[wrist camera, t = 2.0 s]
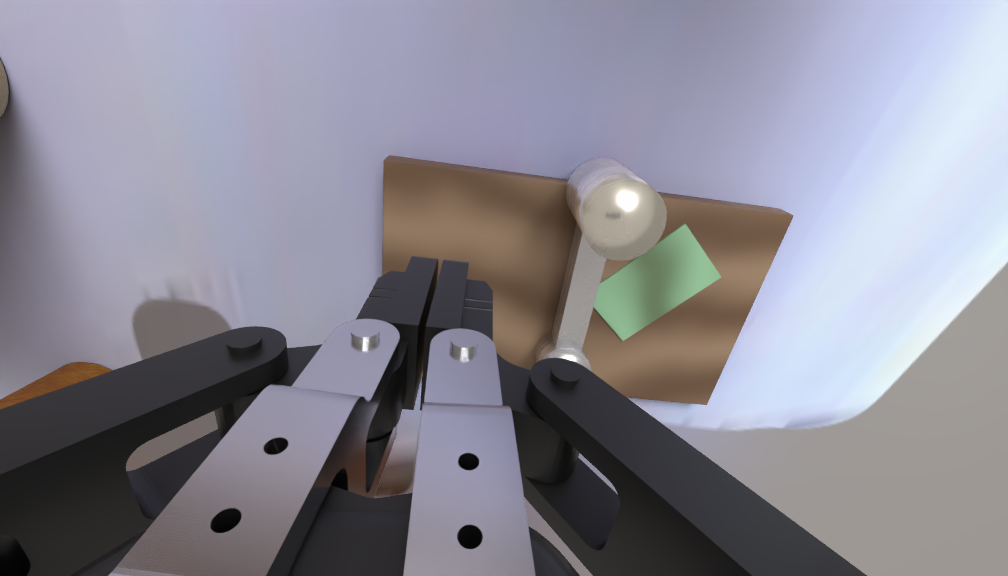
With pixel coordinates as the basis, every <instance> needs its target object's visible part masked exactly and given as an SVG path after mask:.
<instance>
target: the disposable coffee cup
mask: <svg viewBox="0 0 1008 576" xmlns="http://www.w3.org/2000/svg"><path fill="white" fill-rule="evenodd" d="M110 371H112V370H110V369H108V368H106V367H103V366H100V365H97V364H92V363H86V362H75V363H70V364H67V365H64V366H62V367H61V368H59V369H57V370H55V371H53V372H52V373H50V374H48V375H46V376H44V377H42V378H40V379H38V380H36V381H35V382H33V383H31V384H29V385H27V386H25V387H23V388H21V389H19V390H18V391H16V392H14V393H12V394H10V395H8V396H6V397H4V398H3V399H1V400H0V409H3V408H6V407H8V406H11V405H14V404H17V403H20V402H23V401H26V400H29V399H32V398H35V397H38V396H40V395H43V394H46V393H49V392H52V391H55V390H58V389H61V388H64V387H67V386H70V385H72V384H75V383H78V382H81V381H84V380H87V379H90V378H93V377H96V376H99V375H102V374H104V373H107V372H110Z"/></svg>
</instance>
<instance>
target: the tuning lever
mask: <svg viewBox="0 0 1008 576" xmlns="http://www.w3.org/2000/svg"><path fill="white" fill-rule="evenodd" d="M566 200H567V204H568V206H569V208H570V210H571V212H572V214H573V216H574V218H575V219H576V221H577V223H576V227H575V232H574V236H573V241H572V245H571V250H570V254H569V259H568V263H567V267H566V272H565V276H564V281H563V285H562V290H561V294H560V299H559V303H558V308H557V312H556V316H555V321H554V325H553V330H552V333H550V334H548V335H546V336H545V337H543V338H542V339H541V340H540V341H539V343H538V345H537V347H536V351H535V355H536V362H538V361H540V360H543V359H547V358H563V359H568V360H571V361H574V362H577V363H579V364H581V365H583V366H584V367H586V368H587V369H589V370H590V371H591V372H592V370H591V366H590V363H589V360H588V357H587V354H586V351H585V348H584V345H583V344H584V340H585V337H586V333H587V329H588V325H589V322H590V318H591V314H592V310H593V307H594V303H595V299H596V296H597V292H598V288H599V284H600V281H601V277H602V273H603V269H604V266H605V262H606V258H607V259H610V260H615V261H625V260H630V259H634V258H637V257H639V256H641V255H643V254H645V253H646V252H647V251H649V250H650V249H651V248H652V247H653V246H654V245H655V244H656V243H657V242H658V240H659V239H660V237H661V236H662V234H663V232H664V229H665V226H666V220H667V211H666V206H665V203H664V201H663V199H662V197H661V196H660V194H659V193H658V192H657V191H656V190H655V189H653V188H652V187H651V186H649V185H648V184H647V183H645V182H644V181H643V180H642V179H640V178H639V177H638V176H636V175H635V174H634V173H632V172H631V171H630V170H628V169H627V168H626V167H625V166H623V165H622V164H621V163H619V162H618V161H616V160H614V159H611V158H606V157H598V158H593V159H590V160H588V161H585V162H584V163H582V164H581V165H579V166H578V167H577V168H576V169H575V170H574V172H573V173H572V174H571V176H570V178H569V180H568V182H567V186H566Z"/></svg>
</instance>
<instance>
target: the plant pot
mask: <svg viewBox="0 0 1008 576" xmlns="http://www.w3.org/2000/svg"><path fill="white" fill-rule="evenodd" d="M8 96H9V89H8V81H7V76H6V73H5V69H4V66H3V64H2V62H1V60H0V117H1V116H2V115H3V113H4V112H5V109H6V107H7V103H8Z"/></svg>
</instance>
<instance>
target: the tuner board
mask: <svg viewBox="0 0 1008 576" xmlns="http://www.w3.org/2000/svg"><path fill="white" fill-rule="evenodd" d="M567 182H568V180H565V179H558V178H551V177H543V176H536V175H529V174H522V173H514V172H507V171H500V170H492V169H485V168H478V167H470V166H463V165H456V164H448V163H441V162H434V161H426V160H419V159H412V158H404V157H397V156H390V155H389V156H388V157H387V158H386V159H385V160H384V189H383V274H382V276H383V275H384V274H386V273H388V272H389V271H399V272H405V271H406V268H407V266H408V264H409V261H410V259H411V257H412V256H417V257H426V258H434V259H438V260H439V265H438V278H439V274H440V270H441V266H442V263H443V260H452V261H460V262H469V267H468V276H467V279H469V280H478V281H486V283H487V284H488V285H489V286H490V288H491V289H492V290H493V343H494V344H495V347H496V352H497V353H498V354H499V355H500V356H501V357H502V358H503V359H504V360H506V361H508V362H509V363H511V364H513V365H516V366H519V367H522V368H525V369H528V370H531V368H532V366H533V365H534V364H535V363H537V362H536V355H535V351H536V347H537V345H538V343H539V341H540V340H541V339H542V338H543V337H545V336H546V335H548V334H550V333H552V330H553V325H554V321H555V316H556V312H557V308H558V303H559V299H560V294H561V290H562V285H563V281H564V276H565V272H566V267H567V263H568V259H569V254H570V250H571V245H572V241H573V236H574V232H575V227H576V223H577V221H576V219H575V218H574V216H573V214H572V212H571V210H570V208H569V206H568V204H567V200H566V186H567ZM658 193H659V194H660V196H661V197H662V199H663V201H664V203H665V206H666V211H667V220H666V226H665V229H664V232H663V234H662V236H661V237H660V239H659V240H658V242H657V243H656V244H655V245H654V246H653V247H652V248H651V249H650V250H649V251H647V252H646V253H645V254H643V255H641V256H639V257H637V258H634V259H630V260H625V261H615V260H610V259H607V258H606V262H605V266H604V269H603V273H602V277H601V281H600V284H599V288H598V292H597V296H596V299H595V303H594V307H593V310H592V314H591V318H590V322H589V325H588V329H587V333H586V337H585V340H584V344H583V345H584V348H585V351H586V354H587V357H588V360H589V363H590V366H591V370H592V372H593V373H594V374H595V375H597V376H598V377H599V378H601V379H602V380H603V381H605V382H606V383H607V384H609V385H610V386H611V387H613V388H614V389H616V390H617V391H618V392H620V393H621V394H622V395H624V396H625V397H630V398H640V399H651V400H661V401H672V402H682V403H693V404H703V405H707V403H708V401H709V399H710V396H711V394H712V392H713V390H714V388H715V386H716V383H717V381H718V379H719V377H720V375H721V372H722V370H723V368H724V366H725V364H726V362H727V359H728V357H729V355H730V353H731V351H732V349H733V346H734V344H735V342H736V340H737V338H738V336H739V333H740V331H741V329H742V327H743V325H744V322H745V320H746V318H747V316H748V314H749V312H750V309H751V307H752V305H753V303H754V301H755V299H756V296H757V294H758V292H759V290H760V288H761V285H762V283H763V281H764V279H765V277H766V275H767V272H768V270H769V268H770V266H771V264H772V262H773V259H774V257H775V255H776V253H777V251H778V248H779V246H780V244H781V242H782V240H783V238H784V235H785V233H786V231H787V229H788V227H789V225H790V222H791V220H792V218H793V215H791V214H789V213H787V212H785V211H783V210H781V209H778V208H771V207H763V206H756V205H749V204H741V203H734V202H727V201H719V200H712V199H705V198H697V197H690V196H683V195H675V194H668V193H661V192H658ZM437 282H438V279H437ZM422 376H423V371H422ZM422 376H421V377H422Z"/></svg>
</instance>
